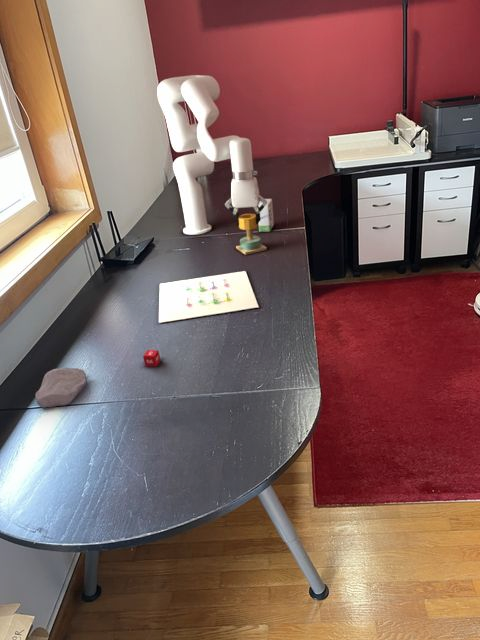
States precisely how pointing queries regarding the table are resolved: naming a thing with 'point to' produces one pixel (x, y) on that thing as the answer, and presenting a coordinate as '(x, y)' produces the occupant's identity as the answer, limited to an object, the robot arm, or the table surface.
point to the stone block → (60, 387)
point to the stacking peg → (250, 244)
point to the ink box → (266, 216)
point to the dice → (151, 358)
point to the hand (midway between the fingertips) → (248, 223)
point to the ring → (247, 221)
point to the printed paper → (205, 296)
